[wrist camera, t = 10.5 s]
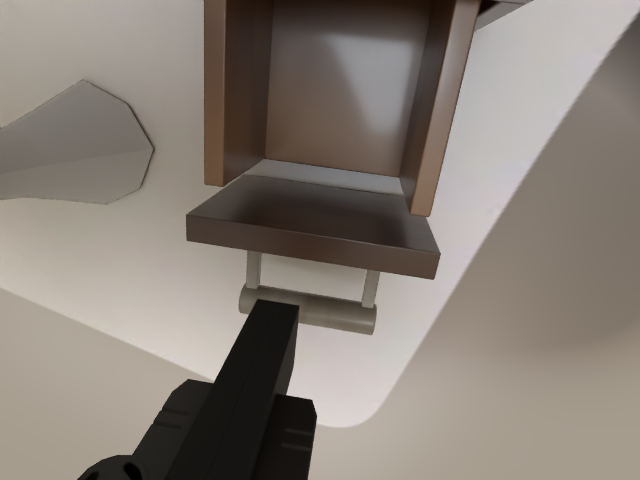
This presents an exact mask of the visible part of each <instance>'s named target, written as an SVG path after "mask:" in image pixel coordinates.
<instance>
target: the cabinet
mask: <svg viewBox="0 0 640 480" xmlns="http://www.w3.org/2000/svg"><path fill="white" fill-rule="evenodd" d="M531 1H533V0H481V4H480V8H479V12H478V16H477V21H476V25H475V29H474V31H476V30H478V29H480V28H482V27H484V26H486V25H488V24H490V23H491V22H493V21H495V20H497V19H499V18H501V17H503V16H505V15H506V14H508V13H510V12H512V11H514V10H516V9H518V8H520V7H522V6H523V5H525V4H527V3H529V2H531Z"/></svg>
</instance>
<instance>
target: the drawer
mask: <svg viewBox="0 0 640 480" xmlns="http://www.w3.org/2000/svg"><path fill="white" fill-rule="evenodd" d="M480 4H481V0H204V183H205V184H206V185H212V186H219V187H224V186H225V185H226V184H228V183H229V182H231V181H232V180H234V179H235V178H237V177H238V176H240V175H241V174H243V173H244V172H246V171H247V170H249V169H250V168H252V167H253V166H254V165H256V164H257V163H259V162H260V161H262V160H263V159H270V160H278V161H285V162H292V163H299V164H306V165H313V166H320V167H327V168H335V169H342V170H349V171H356V172H363V173H370V174H377V175H384V176H391V177H399V180H400V183H401V187H402V190H403V193H404V197H398V196H391V195H384V194H377V193H370V192H363V191H356V190H349V189H342V188H335V187H328V186H321V185H314V184H307V183H300V182H294V181H287V180H280V179H273V178H266V177H259V176H252V175H245V174H244V175H243V176H241V177H240V178H238V179H237V180H235V181H234V182H232V183H231V184H230V185H228V186H227V187H225V188H224V189H222V190H221V191H219V192H218V193H217V194H215V195H214V196H212V197H211V198H209V199H208V200H206V201H205V202H204V203H202V204H201V205H199V206H198V207H196V208H195V209H193V210H192V211H191V212H189V213H188V214H186V236H187V241H192V242H198V243H204V244H211V245H217V246H223V247H230V248H236V249H242V250H248V255H247V276H246V283H245V284H244V286H243V288H242V290H241V294H240V298H239V312H240V313H244V314H250V312H251V310H252V308H253V306H254V304H255V302H256V300H257V299H263V300H269V301H275V302H282V303H288V304H294V305H300V309H299V319H298V323H302V324H308V325H314V326H320V327H326V328H332V329H337V330H343V331H349V332H355V333H361V334H367V335H372V334H373V332H374V327H375V321H376V312H377V306H376V304H374V301H375V296H376V290H377V285H378V280H379V275H380V271H381V272H387V273H394V274H400V275H406V276H413V277H419V278H425V279H431V280H434V278H435V274H436V271H437V267H438V263H439V259H440V255H441V253H440V251H439V248H438V246H437V244H436V241H435V239H434V236H433V234H432V231H431V229H430V227H429V224H428V222H427V219H426V217H429V216H430V214H431V210H432V206H433V201H434V197H435V193H436V189H437V185H438V180H439V176H440V172H441V168H442V164H443V159H444V155H445V151H446V147H447V143H448V138H449V134H450V130H451V126H452V122H453V117H454V113H455V109H456V105H457V101H458V96H459V92H460V88H461V84H462V80H463V75H464V71H465V67H466V63H467V59H468V54H469V50H470V46H471V42H472V38H473V33H474V29H475V25H476V21H477V16H478V12H479V8H480ZM262 253H268V254H274V255H280V256H286V257H293V258H299V259H305V260H312V261H318V262H324V263H331V264H337V265H343V266H350V267H356V268H362V269H367V274H366V279H365V285H364V290H363V296H362V302H359V301H353V300H347V299H341V298H335V297H329V296H323V295H317V294H311V293H305V292H299V291H293V290H287V289H280V288H274V287H268V286H262V285H259V284H260V272H261V256H262Z"/></svg>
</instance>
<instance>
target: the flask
mask: <svg viewBox="0 0 640 480" xmlns="http://www.w3.org/2000/svg"><path fill="white" fill-rule="evenodd" d="M152 151H153V147H152V146H151V144H150V142H149V140H148V139H147V137H146V135H145V134H144V132H143V130H142V128H141V127H140V125H139V123H138V122H137V120H136V118H135V117H134V115H133V113H132V111H131V110H130V108H129V106H128V105H127V104H126V103H124V102H123V101H121V100H119V99H117V98H115V97H114V96H112V95H110V94H108V93H106V92H105V91H103V90H101V89H99V88H97V87H96V86H94V85H92V84H90V83H88V82H86V81H85V80H81V81H80V82H78V83H76V84H75V85H73V86H71V87H70V88H68V89H66V90H65V91H63V92H62V93H60V94H58V95H57V96H55V97H53V98H52V99H50V100H49V101H47V102H45V103H44V104H42V105H41V106H39V107H38V108H36V109H34V110H33V111H31V112H30V113H28V114H26V115H24V116H23V117H21V118H19V119H17V120H16V121H14V122H12V123H10V124H9V125H7V126H5V127H2V128H0V200H5V199H15V198H25V197H26V198H40V199H55V200H68V201H76V202H85V203H93V204H106V205H107V204H109V203H111V202H113V201H115V200H117V199H119V198H121V197H123V196H125V195H127V194H129V193H131V192H133V191H135V190H137V189H139V188H140V186H141V183H142V181H143V178H144V175H145V172H146V169H147V166H148V163H149V160H150V157H151V154H152Z"/></svg>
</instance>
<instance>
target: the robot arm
mask: <svg viewBox="0 0 640 480" xmlns="http://www.w3.org/2000/svg"><path fill="white" fill-rule="evenodd" d="M299 309H300V305H294V304H288V303H282V302H275V301H269V300H263V299H257V300H256V302H255V304H254V306H253V308H252V310H251V312H250V314H249V316H248V318H247V320H246V322H245V324H244V325H243V327H242V329H241V331H240V333H239V335H238V337H237V339H236V341H235V343H234V345H233V347H232V349H231V351H230V353H229V355H228V356H227V358H226V360H225V362H224V364H223V366H222V368H221V370H220V372H219V374H218V376H217V378H216V380H215V382H214V383H208V382H202V381H197V380H191V379H188V380H187V381H185V382H184V383H183V384H181V385H180V386H179V387H178V388H176V389H175V390H174V391H173V392H172V393H171V395H170V396H169V398H168V399H167V401H166V402H165V404H164V406H163V407H162V410H161V411H160V412H159V413H158V415H157V417H156V418H155V420H154V422H153V424H152V425H151V426H150V428H149V429H148V431H147V432H146V434H145V436H144V437H143V439H142V440H141V442H140V444H139V445H138V447H137V448H136V450H135V451H134V453H133V454H132V455H116V456H113V457H109V458H106V459H103V460H101V461H99V462H98V463H96V464H94V465H93V466H91V467H90V468H88V469H87V470H86V471H85V472H84V473H83V474H82V475H81V476H80V477H79V478H78V479H77V480H308V474H309V467H310V461H311V455H312V448H313V441H314V434H315V428H316V421H317V414H316V411H315V408H314V405H313V401H312V400H310V399H304V398H299V397H293V396H288V395H286V393H287V389H288V386H289V382H290V378H291V374H292V371H293V366H294V357H295V347H296V338H297V328H298V319H299Z"/></svg>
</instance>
